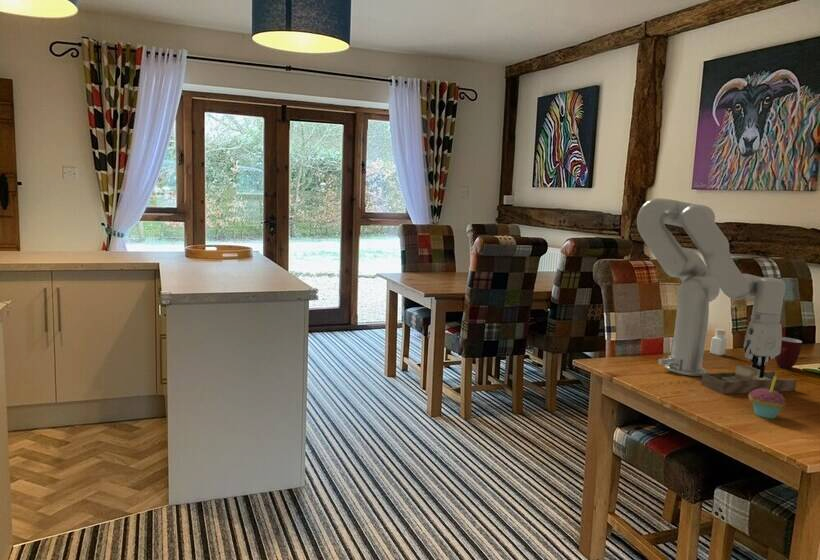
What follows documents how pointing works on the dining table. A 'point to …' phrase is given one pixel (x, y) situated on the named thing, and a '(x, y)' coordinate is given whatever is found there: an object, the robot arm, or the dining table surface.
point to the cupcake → (767, 401)
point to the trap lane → (745, 383)
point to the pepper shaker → (718, 343)
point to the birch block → (746, 373)
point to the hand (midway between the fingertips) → (756, 376)
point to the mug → (788, 352)
